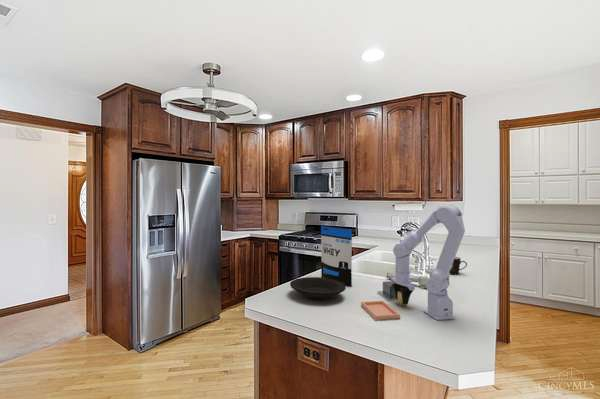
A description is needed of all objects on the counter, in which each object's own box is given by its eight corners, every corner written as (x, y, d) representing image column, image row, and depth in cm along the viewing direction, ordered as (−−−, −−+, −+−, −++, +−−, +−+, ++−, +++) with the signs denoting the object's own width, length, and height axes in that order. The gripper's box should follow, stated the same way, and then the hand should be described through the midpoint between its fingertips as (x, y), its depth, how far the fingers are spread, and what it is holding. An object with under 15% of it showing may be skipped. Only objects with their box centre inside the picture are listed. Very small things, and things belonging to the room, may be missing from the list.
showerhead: (435, 266, 178) (447, 270, 169) (434, 278, 178) (447, 283, 169) (420, 267, 176) (432, 271, 166) (420, 279, 176) (432, 284, 166)
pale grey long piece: (390, 271, 180) (431, 274, 160) (392, 283, 179) (433, 287, 160) (385, 273, 177) (426, 275, 157) (386, 285, 176) (428, 289, 157)
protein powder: (327, 276, 185) (327, 225, 184) (357, 285, 165) (357, 229, 165) (315, 278, 179) (314, 226, 179) (345, 288, 160) (345, 230, 159)
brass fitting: (408, 306, 134) (408, 292, 134) (400, 307, 133) (400, 293, 133) (404, 303, 138) (404, 290, 138) (395, 304, 137) (395, 290, 137)
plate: (279, 295, 150) (279, 283, 149) (312, 285, 166) (312, 274, 166) (323, 310, 130) (323, 297, 130) (356, 297, 147) (356, 285, 147)
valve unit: (408, 299, 142) (408, 286, 142) (387, 301, 141) (387, 288, 141) (395, 291, 155) (395, 279, 154) (376, 292, 153) (376, 280, 153)
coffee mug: (441, 272, 192) (441, 256, 192) (452, 271, 194) (453, 255, 194) (456, 277, 181) (456, 260, 180) (468, 276, 183) (468, 259, 183)
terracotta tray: (400, 319, 120) (400, 314, 120) (375, 320, 119) (375, 316, 119) (382, 304, 136) (382, 300, 136) (361, 306, 135) (361, 301, 135)
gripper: (420, 274, 129) (420, 306, 130) (400, 266, 143) (400, 296, 144) (406, 275, 127) (406, 308, 128) (387, 267, 141) (387, 297, 142)
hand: (402, 302), depth 135 cm, fingers closed on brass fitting, 4 cm apart
